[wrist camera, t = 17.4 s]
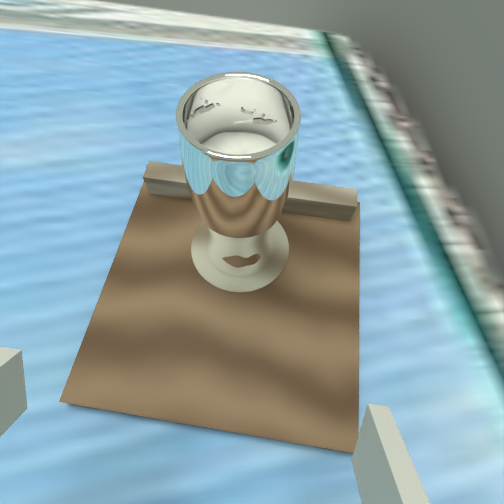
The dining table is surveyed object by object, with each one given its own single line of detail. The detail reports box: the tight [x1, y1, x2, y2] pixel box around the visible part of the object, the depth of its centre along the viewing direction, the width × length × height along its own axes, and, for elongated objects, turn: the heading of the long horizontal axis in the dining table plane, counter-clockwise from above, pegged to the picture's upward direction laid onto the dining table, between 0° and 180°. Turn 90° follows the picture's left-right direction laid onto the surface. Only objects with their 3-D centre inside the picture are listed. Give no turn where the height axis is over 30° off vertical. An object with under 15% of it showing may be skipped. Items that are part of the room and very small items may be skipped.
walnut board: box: [59, 161, 360, 453], centre depth 29 cm, size 22×22×4 cm
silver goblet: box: [176, 72, 301, 277], centre depth 24 cm, size 7×7×15 cm
